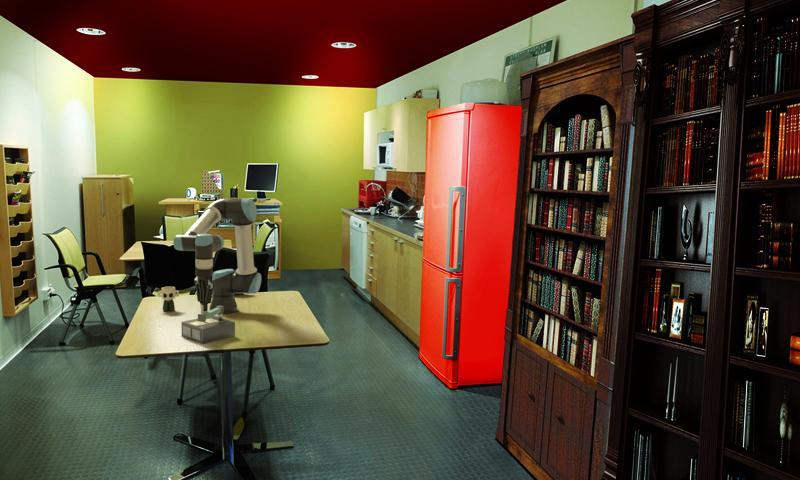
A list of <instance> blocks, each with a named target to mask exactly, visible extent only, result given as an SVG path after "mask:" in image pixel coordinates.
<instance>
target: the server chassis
mask: <svg viewBox="0 0 800 480" xmlns="http://www.w3.org/2000/svg"><path fill="white" fill-rule="evenodd" d="M223 317H224V315H223V313H219V314H217V315H214V316H212V317H210V318H208V319H206V321H205V322H200V321H198V318H193V319H189V320H184V321H181V337H182V338H185V339H189V340H191V341H193V342H197V343H200V344H202V345H205V344H208V343H213V342H219V341H221V340H226V339H230V338H233V337H234V338H235V337H236V322H235V321H232V320H229V319H227V318H226V319H225V318H223Z"/></svg>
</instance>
